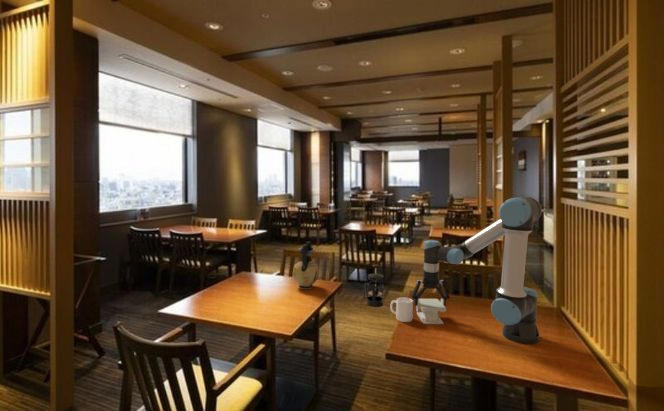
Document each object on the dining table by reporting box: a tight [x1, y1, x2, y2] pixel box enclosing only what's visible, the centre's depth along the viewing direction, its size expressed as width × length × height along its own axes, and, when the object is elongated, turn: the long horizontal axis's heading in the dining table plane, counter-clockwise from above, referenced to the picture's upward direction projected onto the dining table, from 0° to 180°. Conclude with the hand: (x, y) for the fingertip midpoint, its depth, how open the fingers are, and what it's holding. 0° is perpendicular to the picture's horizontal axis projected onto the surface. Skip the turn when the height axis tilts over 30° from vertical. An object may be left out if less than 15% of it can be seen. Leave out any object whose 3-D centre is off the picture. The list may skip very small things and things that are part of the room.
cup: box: [389, 296, 414, 323], centre depth 183 cm, size 8×12×10 cm
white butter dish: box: [416, 310, 444, 325], centre depth 184 cm, size 14×10×6 cm
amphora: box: [292, 240, 320, 290], centre depth 234 cm, size 18×17×30 cm
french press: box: [363, 264, 384, 308], centre depth 204 cm, size 12×9×23 cm
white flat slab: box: [419, 298, 447, 312], centre depth 184 cm, size 14×12×2 cm
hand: (429, 311), depth 184 cm, fingers closed on white flat slab, 12 cm apart
